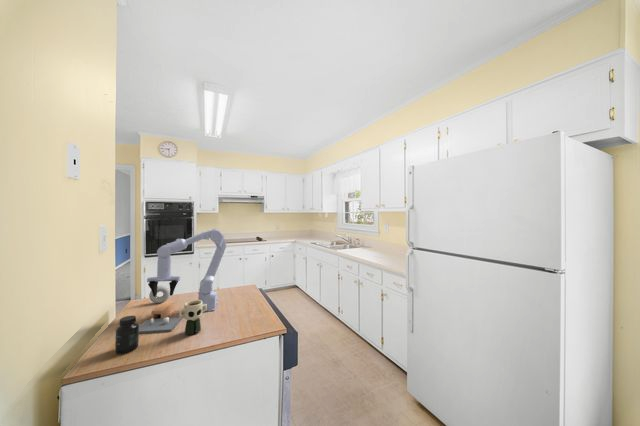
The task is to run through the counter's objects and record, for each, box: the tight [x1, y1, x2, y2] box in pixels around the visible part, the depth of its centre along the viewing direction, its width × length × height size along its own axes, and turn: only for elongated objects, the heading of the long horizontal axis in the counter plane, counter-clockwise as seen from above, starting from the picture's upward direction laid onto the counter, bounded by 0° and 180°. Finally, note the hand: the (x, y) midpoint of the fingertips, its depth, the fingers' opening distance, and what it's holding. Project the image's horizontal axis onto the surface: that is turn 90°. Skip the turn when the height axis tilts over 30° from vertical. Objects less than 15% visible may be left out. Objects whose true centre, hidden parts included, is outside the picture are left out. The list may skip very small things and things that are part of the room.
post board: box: [139, 316, 183, 335], centre depth 106 cm, size 15×12×4 cm
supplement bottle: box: [114, 315, 140, 355], centre depth 88 cm, size 7×7×12 cm
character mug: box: [178, 299, 207, 335], centre depth 102 cm, size 11×7×13 cm, turn 132°
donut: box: [149, 285, 170, 304], centre depth 133 cm, size 10×3×10 cm, turn 119°
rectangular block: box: [150, 301, 174, 319], centre depth 118 cm, size 12×5×4 cm, turn 11°
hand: (163, 295), depth 118 cm, fingers open, 7 cm apart
